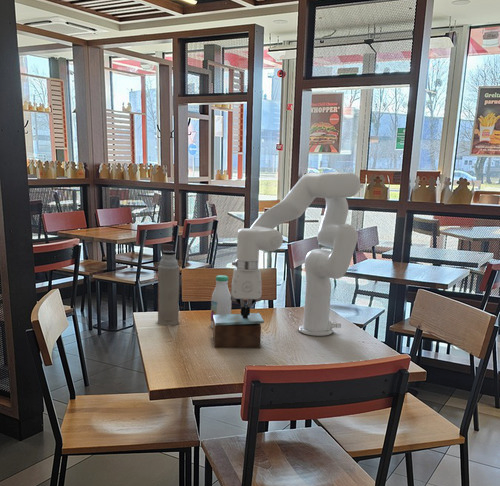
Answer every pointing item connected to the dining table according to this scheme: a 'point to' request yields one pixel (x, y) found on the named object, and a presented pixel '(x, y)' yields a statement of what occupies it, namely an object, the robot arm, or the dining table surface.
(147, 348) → the dining table surface
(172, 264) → the thermos bottle
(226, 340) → the brown wooden box
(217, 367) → the dining table surface
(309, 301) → the robot arm
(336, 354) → the dining table surface
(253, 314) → the light blue flat slab
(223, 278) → the milk bottle
